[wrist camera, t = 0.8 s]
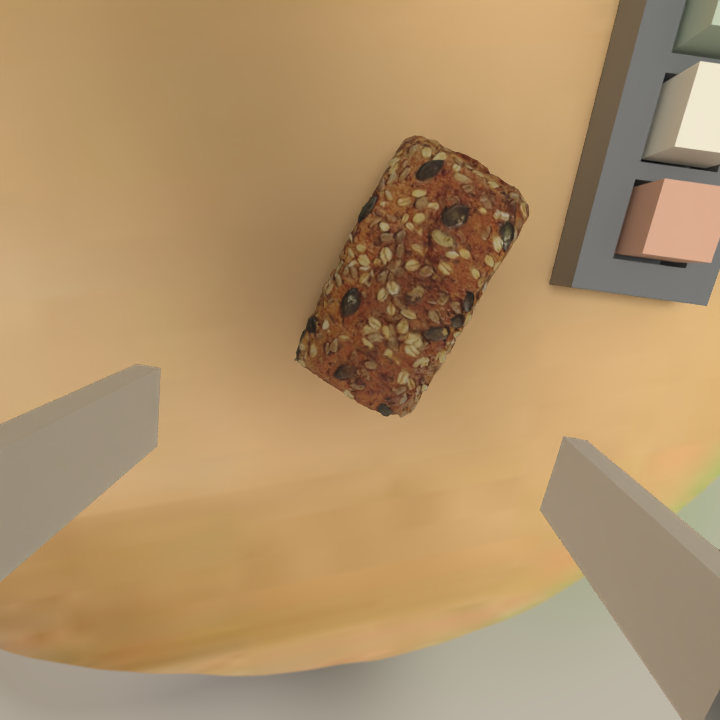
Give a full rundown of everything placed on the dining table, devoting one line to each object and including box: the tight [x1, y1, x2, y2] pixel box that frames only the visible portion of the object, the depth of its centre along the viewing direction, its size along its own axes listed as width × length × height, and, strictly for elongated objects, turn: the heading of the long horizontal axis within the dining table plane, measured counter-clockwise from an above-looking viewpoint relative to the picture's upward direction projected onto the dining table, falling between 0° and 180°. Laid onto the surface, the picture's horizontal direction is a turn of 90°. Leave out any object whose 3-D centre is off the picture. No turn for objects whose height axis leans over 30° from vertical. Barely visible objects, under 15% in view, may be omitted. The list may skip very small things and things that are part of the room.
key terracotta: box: [614, 179, 720, 263], centre depth 29 cm, size 5×5×4 cm
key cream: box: [641, 61, 720, 168], centre depth 28 cm, size 5×5×4 cm
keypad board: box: [550, 0, 720, 306], centre depth 30 cm, size 25×11×4 cm, turn 172°
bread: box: [295, 136, 529, 417], centre depth 31 cm, size 19×11×10 cm, turn 151°
